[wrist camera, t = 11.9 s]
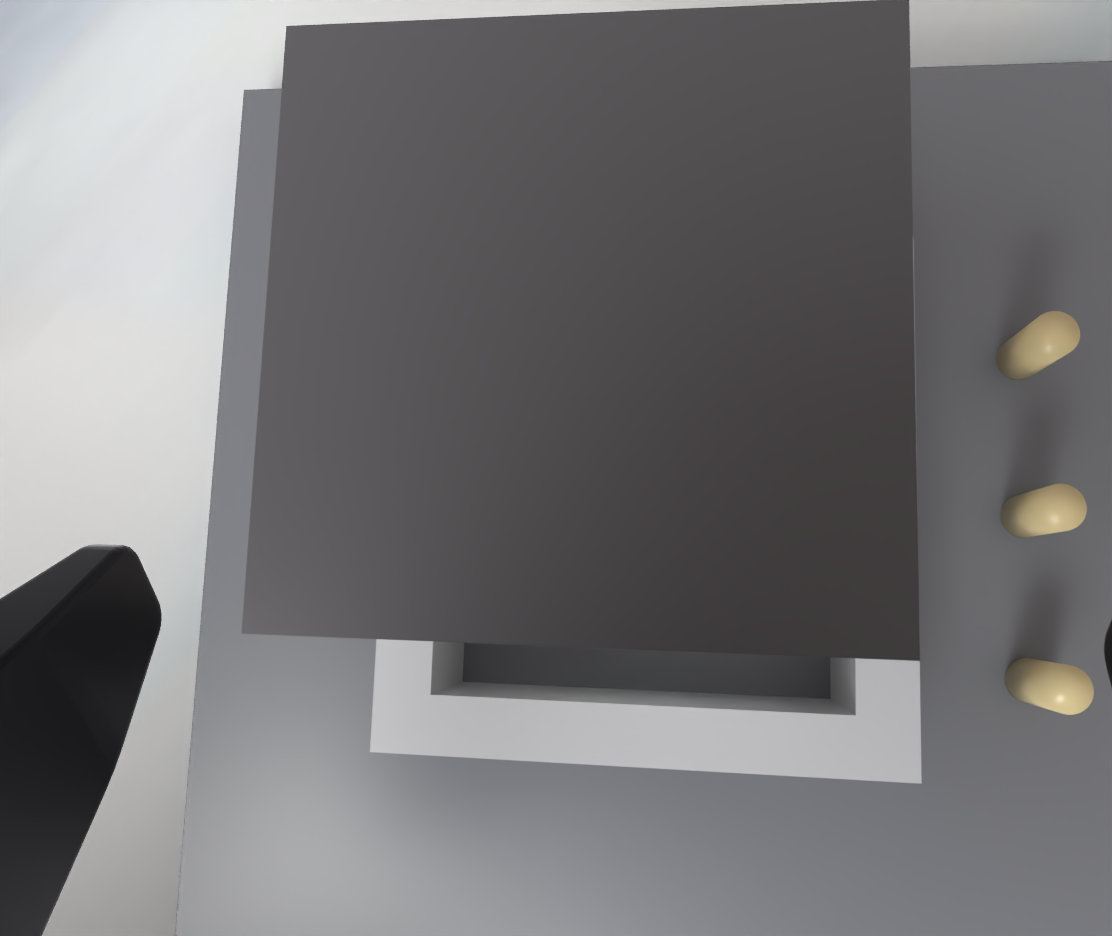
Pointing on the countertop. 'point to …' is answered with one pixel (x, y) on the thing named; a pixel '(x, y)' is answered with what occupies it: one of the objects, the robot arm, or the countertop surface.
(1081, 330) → the header dock
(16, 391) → the countertop surface
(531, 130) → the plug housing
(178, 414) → the countertop surface
